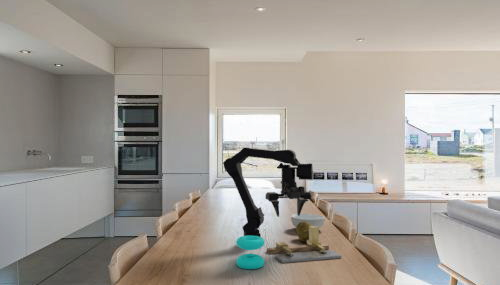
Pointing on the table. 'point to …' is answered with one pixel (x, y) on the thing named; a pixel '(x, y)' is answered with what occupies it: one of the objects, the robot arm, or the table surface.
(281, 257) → the hole plate
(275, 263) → the table surface
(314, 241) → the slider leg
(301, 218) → the cereal bowl
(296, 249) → the rail
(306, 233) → the potato
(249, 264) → the donuts
